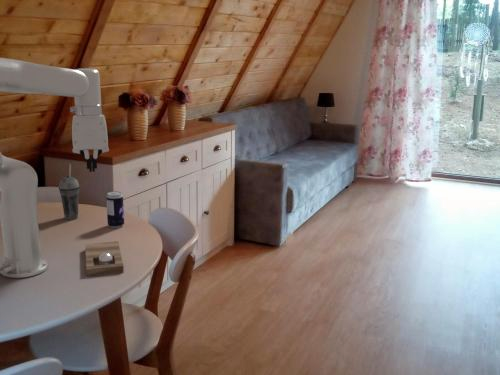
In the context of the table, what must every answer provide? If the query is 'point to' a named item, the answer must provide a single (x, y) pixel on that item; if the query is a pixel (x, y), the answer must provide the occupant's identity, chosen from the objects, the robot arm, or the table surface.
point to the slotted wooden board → (93, 258)
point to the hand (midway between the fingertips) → (92, 170)
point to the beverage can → (115, 209)
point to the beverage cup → (69, 196)
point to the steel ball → (105, 259)
